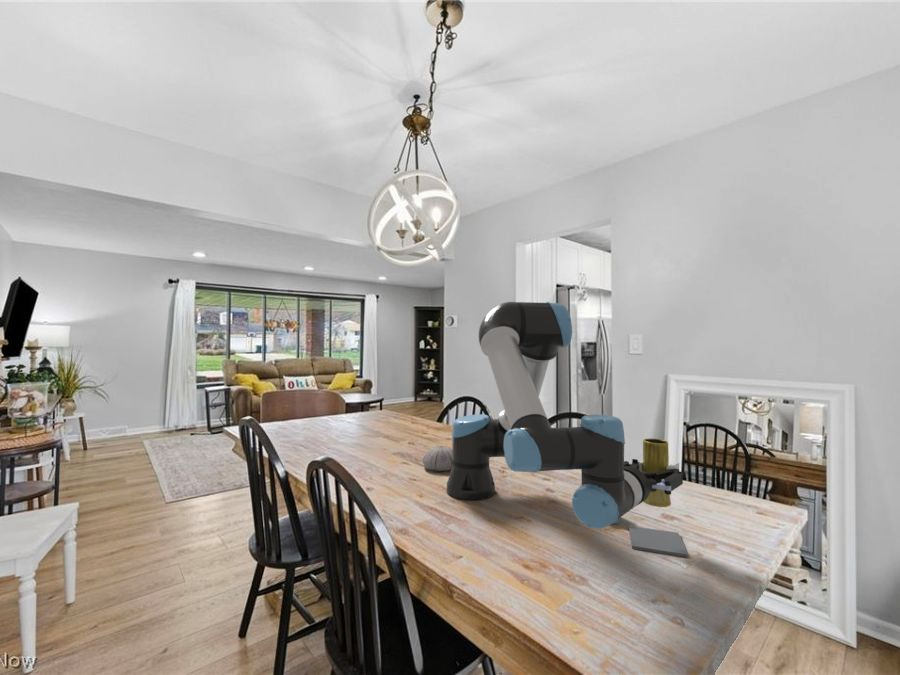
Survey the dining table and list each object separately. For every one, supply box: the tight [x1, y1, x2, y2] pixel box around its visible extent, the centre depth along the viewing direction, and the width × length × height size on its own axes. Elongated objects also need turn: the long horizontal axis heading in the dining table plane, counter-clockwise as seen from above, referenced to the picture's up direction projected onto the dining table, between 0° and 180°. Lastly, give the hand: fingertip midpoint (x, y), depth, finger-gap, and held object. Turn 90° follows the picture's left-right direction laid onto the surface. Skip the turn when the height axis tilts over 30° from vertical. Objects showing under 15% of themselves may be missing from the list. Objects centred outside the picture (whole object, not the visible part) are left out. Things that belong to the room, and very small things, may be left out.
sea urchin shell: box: [422, 445, 452, 472], centre depth 153 cm, size 13×14×8 cm
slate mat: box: [628, 525, 688, 558], centre depth 95 cm, size 11×11×1 cm
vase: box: [642, 438, 672, 508], centre depth 96 cm, size 6×6×14 cm
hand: (663, 465), depth 99 cm, fingers closed on vase, 5 cm apart
